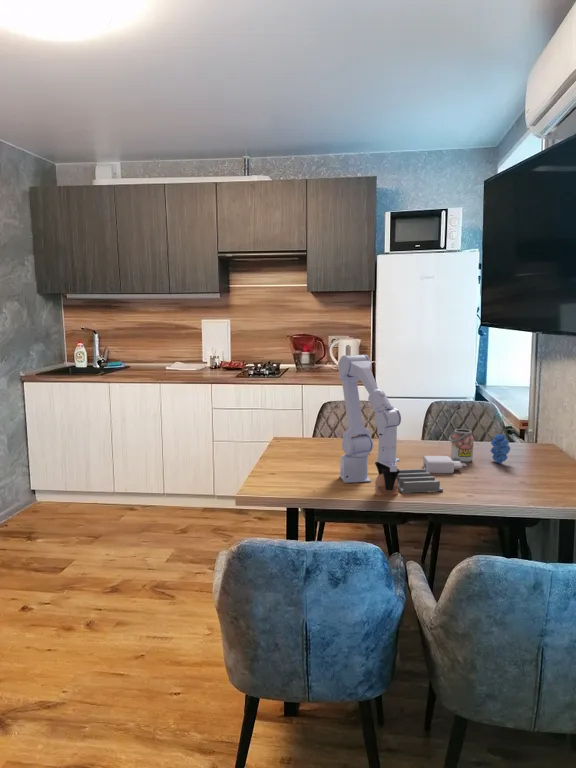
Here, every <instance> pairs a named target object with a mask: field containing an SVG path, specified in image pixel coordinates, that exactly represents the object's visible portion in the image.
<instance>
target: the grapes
mask: <svg viewBox="0 0 576 768" xmlns="http://www.w3.org/2000/svg"><path fill="white" fill-rule="evenodd" d="M490 444H491V446H492V447H491V448H490V452H491V454H492V457H491V458H492V460H493V461H495V462H496V463H497V464H499V465H501V464H502V463H503V462H505V461H507V459H508V454H509V453H510V450H511V447H510V445H509V444H510V442H509V440H508V439H507V436H506V435H505V434H503V433H501V434H499V433H498V434H495V436H494V437H493V440H492V441H491V443H490Z"/></svg>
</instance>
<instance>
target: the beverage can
mask: <svg viewBox="0 0 576 768" xmlns="http://www.w3.org/2000/svg"><path fill="white" fill-rule="evenodd" d="M448 440H449V442H451V450H450V451H451V454H450V456H451V457H450V458H451V459H452V461H460V462H461V463H465V464H467V463H471V462H472V461H473V459H474V443H475V442H474V440H475V438H474V436H473V432H472V430H470V429H465V428H457V429H454V431H453V433H452V434H450V435H449V437H448Z"/></svg>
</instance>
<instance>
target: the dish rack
mask: <svg viewBox="0 0 576 768" xmlns="http://www.w3.org/2000/svg"><path fill="white" fill-rule="evenodd" d="M399 470H400V472H399V474H398V476H397V478H396V479H397V481H398V492H399V493H401V494H402V493H404V494H412V493H411V492H428V491H443V492H444V488H442V487H441V481H440V480H437V479H436V477H435V476H431V473H429V472H426V469H424V468H407V469H405V468H404V469H399ZM428 493H429V492H428Z"/></svg>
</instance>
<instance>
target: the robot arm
mask: <svg viewBox="0 0 576 768" xmlns="http://www.w3.org/2000/svg"><path fill="white" fill-rule="evenodd" d="M337 366H338V374H339V379H340V381H341V384H342V390H343V391H342V392H343V393H342V394H343V398H344V399H343V400H344V406H345V407H344V408H345V413H346V420H347V421H346V422H347V427H348V428H347V429H346V430H345V431H344V432H343V433H342V435H341V436H342V442H341V448H342V451H343V453H344V454H342V455H341V456H340V459H339V461H340V463H339V464H340V468H339V469H340V470H339V471H340V473H339V477H340V478H341V480H342V482H343V483H345V484H347V483H350V484H351V483H369V482H372V480H371V479H370V477H369V476H368V473H369V472H368V471H369V469H368V465H369V463H368V462H369V461H368V460H369V459H368V458H369V457H368V456H369V455H371V454H370V453H371V452H372V451H373V448H374V441H373V439H372V436H371V432H370V430H369V429H367V428H366V427H365V426H364V422H363V421H364V420H363V417H362V416H363V415H362V409H361V408H362V407H361V400H360V394H359V388H358V386H359V385H358V382H359V380H360V381H361V383H362V384H363V386H364V388H365V390H366V391H367V393H368V401H369V404H370V406H371V408H372V409H373V411H374V413H375V417H374V421H375V424H376V431H377V433H378V449H377V450H378V453H377V455H378V456H377V461H375V462H374V465H375V467H376V470H377V472H378V476H379V475H380V474H381V473H383V475H384V480H385V488H386V490H393V487H394V484H395V480H396V478H397V476H398V474H399V472H400V470H401V469H398V465H397V463H398V462H401V461H400V458H398V457H397V446H398V445H397V440H398V439H397V438H398V427H399V426H400V425H401V422H402V416H401V413H400V410H399V409H397V408H395V406H393V405H392V404H391V403H390V400H389V399H388V397H387V395H386V393H385V391H384V390H381V389H379V387H378V384H377V383H376V382H377V381H376V379H375V377H374V375H373V372H372V362H371V359H370V357H369V355H367V354H352V355H342V356H340V358H339V361H338V363H337Z"/></svg>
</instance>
